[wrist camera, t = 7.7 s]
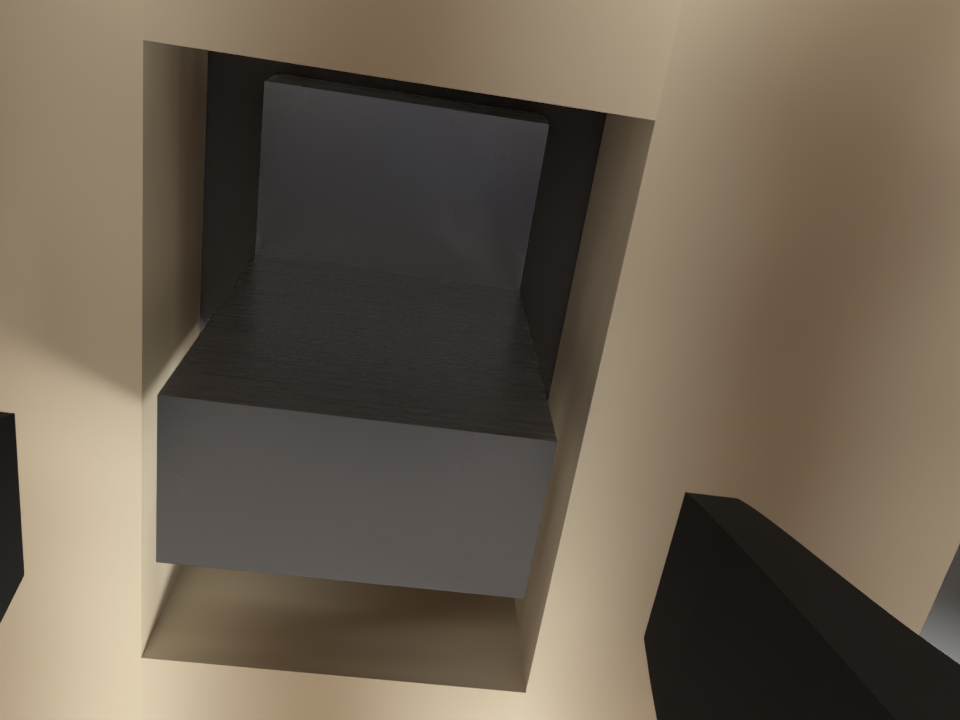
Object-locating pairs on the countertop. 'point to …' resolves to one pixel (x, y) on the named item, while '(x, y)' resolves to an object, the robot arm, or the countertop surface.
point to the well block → (580, 360)
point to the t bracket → (369, 355)
